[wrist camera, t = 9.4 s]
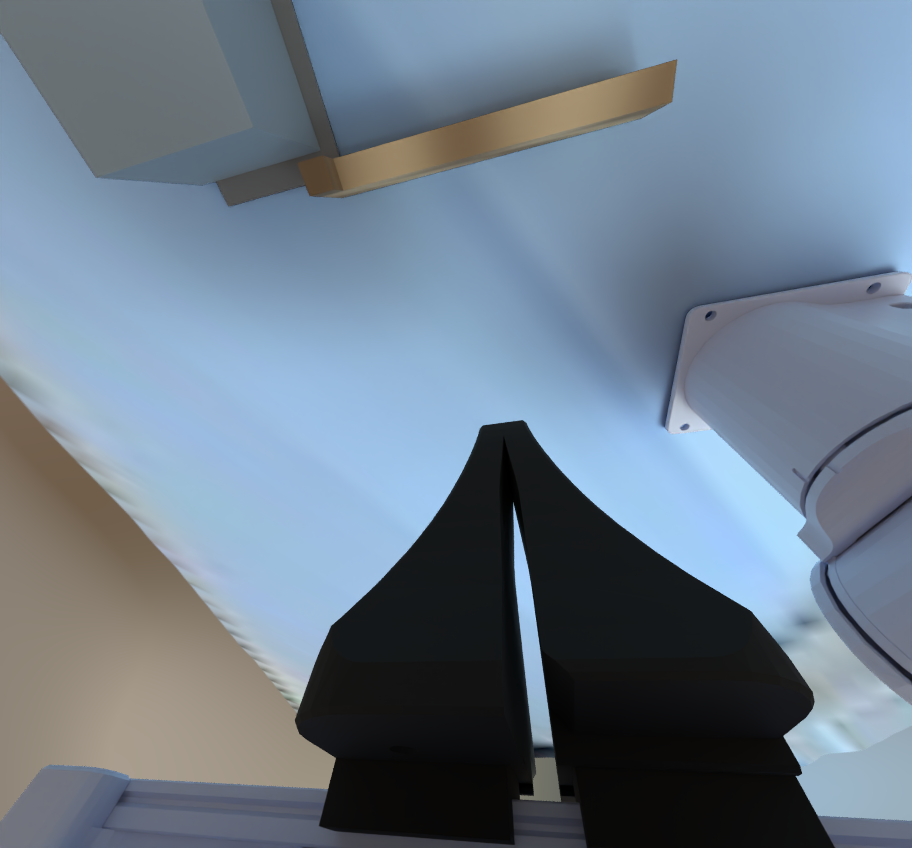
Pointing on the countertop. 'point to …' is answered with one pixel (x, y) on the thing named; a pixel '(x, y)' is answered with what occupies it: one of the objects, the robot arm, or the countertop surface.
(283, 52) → the block
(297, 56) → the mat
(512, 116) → the chute
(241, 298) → the countertop surface
